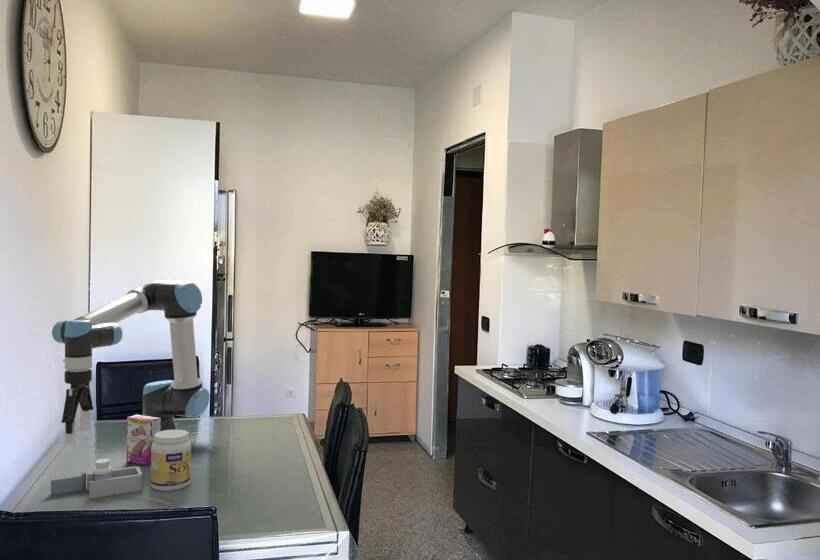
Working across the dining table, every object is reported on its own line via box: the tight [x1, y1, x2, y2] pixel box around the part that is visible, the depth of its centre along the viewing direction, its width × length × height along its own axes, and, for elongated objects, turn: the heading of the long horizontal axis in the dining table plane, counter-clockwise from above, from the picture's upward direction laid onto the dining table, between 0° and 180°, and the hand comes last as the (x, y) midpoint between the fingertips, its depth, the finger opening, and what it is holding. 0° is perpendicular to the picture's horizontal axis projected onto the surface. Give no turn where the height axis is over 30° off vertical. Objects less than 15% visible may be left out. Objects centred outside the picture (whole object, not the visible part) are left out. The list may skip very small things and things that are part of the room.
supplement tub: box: [150, 429, 192, 492], centre depth 202 cm, size 12×12×17 cm
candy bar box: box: [126, 414, 161, 467], centre depth 222 cm, size 11×5×16 cm, turn 71°
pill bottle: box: [92, 458, 113, 481], centre depth 195 cm, size 6×5×10 cm
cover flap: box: [50, 472, 87, 496], centre depth 194 cm, size 1×10×5 cm, turn 122°
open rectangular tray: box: [86, 465, 144, 500], centre depth 197 cm, size 15×9×5 cm, turn 122°
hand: (77, 437), depth 196 cm, fingers open, 13 cm apart
